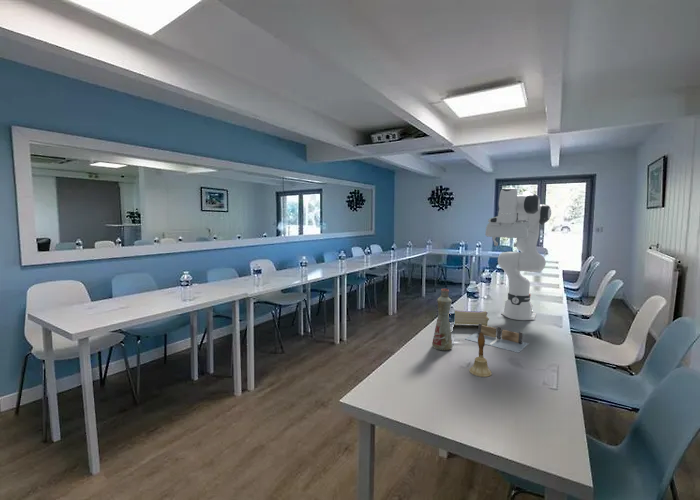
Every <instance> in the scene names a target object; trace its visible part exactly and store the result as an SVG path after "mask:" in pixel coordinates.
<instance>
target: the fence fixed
mask: <svg viewBox="0 0 700 500" xmlns="http://www.w3.org/2000/svg"><path fill="white" fill-rule="evenodd" d="M477 328H478V329H477V332H478V334H480V332H482V333H483V334H484V335H487V336H491V337H496V336H497V339H501V337H502V326H497V327H492V326H488V325H487V326H484V325H482V324H481V323H479V325H478V327H477Z"/></svg>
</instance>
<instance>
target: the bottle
mask: <svg viewBox="0 0 700 500" xmlns="http://www.w3.org/2000/svg"><path fill="white" fill-rule="evenodd" d="M449 293H450V291H449V289H448V288H441V289H440V296H439V297H438V298H437V312H438V313H437V318H436V324H435V329H434V334H433V338H432V342H431V343H432V347H433V349H436V350H438V351H442V352H443V351H450V350H451V349H453V341H452V332H451V331H452V330H451V328H450V322H449V314H450V311H451V304H452V299H451V298H450V297H449Z"/></svg>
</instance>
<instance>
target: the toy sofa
mask: <svg viewBox="0 0 700 500" xmlns="http://www.w3.org/2000/svg"><path fill="white" fill-rule="evenodd" d="M454 310H455V325H456V324H458V325H478V326H479V323H481V324H482V325H484V326H488V324H489V323H488V321H490V318H489V317H488V312H487V311H486V310H483V311H482V310H481V311H475V310H471V311H469V310H456V309H454Z"/></svg>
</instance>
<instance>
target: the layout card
mask: <svg viewBox="0 0 700 500" xmlns="http://www.w3.org/2000/svg"><path fill="white" fill-rule="evenodd" d="M478 337H479V334H478V331H475V332H474V333H472V334H471V335H469V336H467V337H466V338H465V340H467V341H471V342H474V343H478ZM484 338H485V345H486V346H491V347H494V348H498V349H500V350H501V349H502V350H506V351H510V352H515V353H517V354H519V353H520V352H522V350H524V349H525V348H526V347H527V346H528V345H529V344H530V343H528V342H524V341H522V344H519V343H517V342H513V341H508V340H504V339H502V336H501V339H497V335H496V337H491V336H487V335H484Z"/></svg>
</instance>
